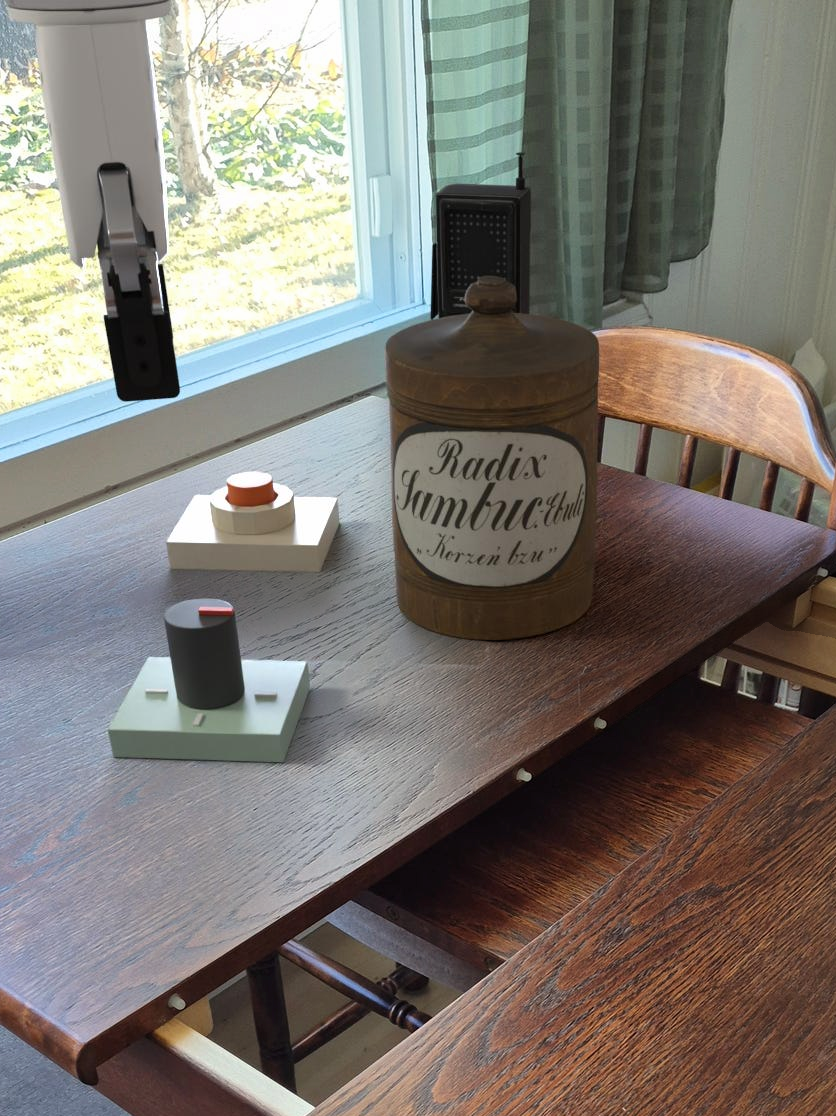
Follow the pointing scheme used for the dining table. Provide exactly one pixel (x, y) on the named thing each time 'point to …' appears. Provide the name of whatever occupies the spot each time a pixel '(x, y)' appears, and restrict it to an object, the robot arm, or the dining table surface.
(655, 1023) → the dining table surface
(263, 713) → the panel
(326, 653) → the dining table surface
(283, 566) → the block
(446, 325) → the wooden container
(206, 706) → the dial
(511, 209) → the portable radio
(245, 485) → the button
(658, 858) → the dining table surface
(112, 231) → the robot arm
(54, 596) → the dining table surface
